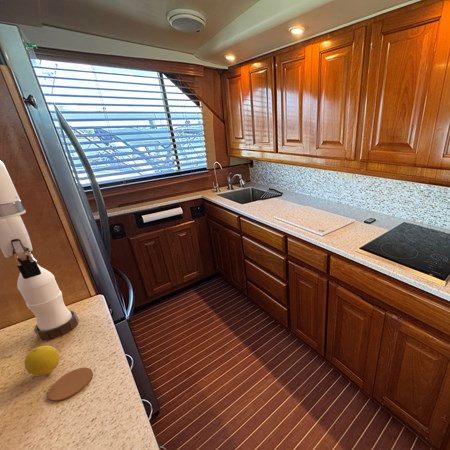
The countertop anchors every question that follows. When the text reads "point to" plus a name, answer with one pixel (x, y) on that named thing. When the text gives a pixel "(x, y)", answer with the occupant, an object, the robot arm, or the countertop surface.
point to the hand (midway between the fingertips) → (30, 270)
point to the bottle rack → (58, 329)
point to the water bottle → (44, 299)
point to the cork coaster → (70, 384)
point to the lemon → (41, 360)
